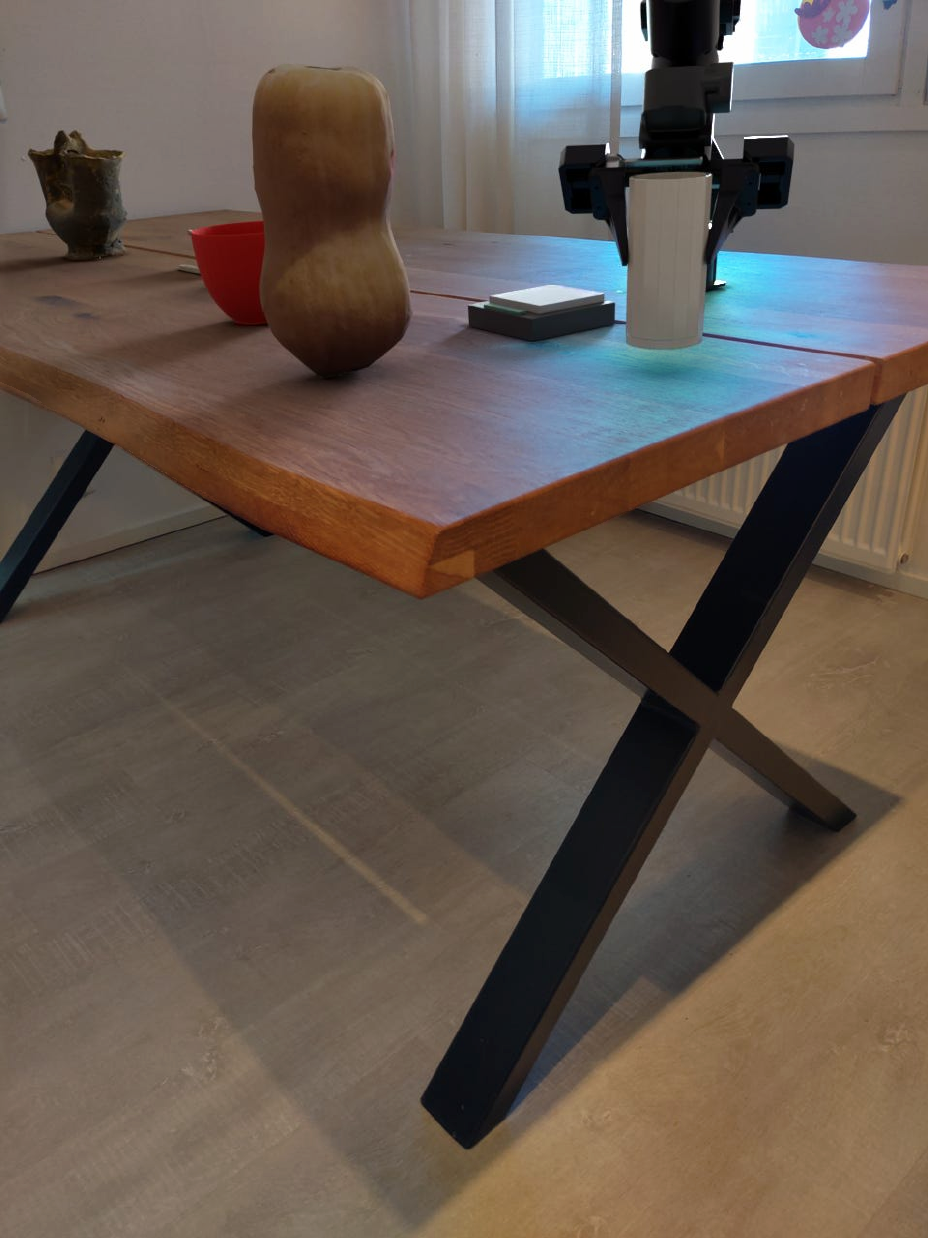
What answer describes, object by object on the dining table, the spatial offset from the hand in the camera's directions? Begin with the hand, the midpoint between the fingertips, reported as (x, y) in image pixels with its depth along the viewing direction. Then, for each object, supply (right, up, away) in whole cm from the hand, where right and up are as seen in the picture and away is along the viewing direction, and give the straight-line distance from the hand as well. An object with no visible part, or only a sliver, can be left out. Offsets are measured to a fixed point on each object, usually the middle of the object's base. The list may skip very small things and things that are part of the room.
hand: (665, 262), depth 82 cm
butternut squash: (-28, -6, +11) cm, 30 cm away
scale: (-8, +2, +25) cm, 26 cm away
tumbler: (+1, -5, +4) cm, 7 cm away
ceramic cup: (-41, +6, +37) cm, 56 cm away
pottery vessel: (-81, +34, +93) cm, 128 cm away
